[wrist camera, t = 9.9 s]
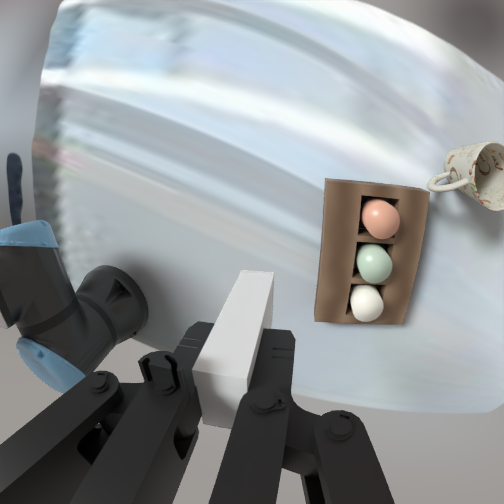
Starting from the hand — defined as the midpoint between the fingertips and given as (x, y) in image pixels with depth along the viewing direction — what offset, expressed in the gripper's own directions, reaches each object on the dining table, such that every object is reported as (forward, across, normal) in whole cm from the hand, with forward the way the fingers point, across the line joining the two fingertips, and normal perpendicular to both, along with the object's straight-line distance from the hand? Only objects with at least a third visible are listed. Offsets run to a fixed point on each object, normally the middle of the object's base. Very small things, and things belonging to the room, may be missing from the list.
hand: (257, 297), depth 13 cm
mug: (+27, +24, +6) cm, 36 cm away
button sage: (+25, +12, -7) cm, 28 cm away
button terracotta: (+25, +12, -1) cm, 27 cm away
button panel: (+26, +12, -7) cm, 30 cm away
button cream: (+25, +12, -13) cm, 30 cm away
